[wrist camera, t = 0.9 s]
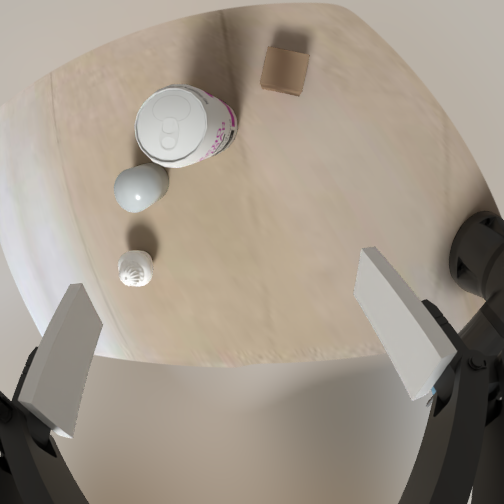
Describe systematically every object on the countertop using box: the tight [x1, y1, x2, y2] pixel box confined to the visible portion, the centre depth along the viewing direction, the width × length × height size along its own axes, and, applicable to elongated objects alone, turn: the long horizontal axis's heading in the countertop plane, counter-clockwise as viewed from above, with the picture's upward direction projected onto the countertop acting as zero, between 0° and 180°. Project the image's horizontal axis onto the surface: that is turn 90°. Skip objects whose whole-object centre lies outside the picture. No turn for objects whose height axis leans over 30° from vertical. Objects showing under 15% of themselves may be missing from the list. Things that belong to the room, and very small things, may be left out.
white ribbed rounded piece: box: [118, 250, 153, 286], centre depth 42 cm, size 6×6×7 cm
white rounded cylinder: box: [114, 163, 169, 212], centre depth 37 cm, size 6×6×6 cm
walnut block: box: [260, 47, 310, 96], centre depth 30 cm, size 5×5×5 cm
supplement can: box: [135, 84, 238, 168], centre depth 29 cm, size 8×8×15 cm
